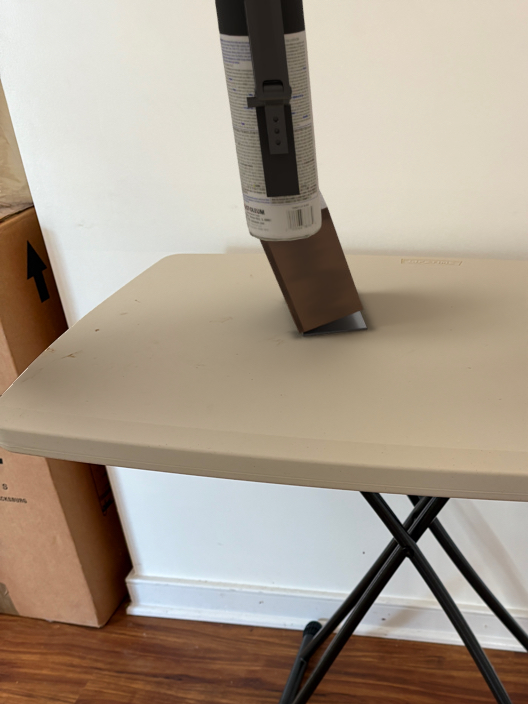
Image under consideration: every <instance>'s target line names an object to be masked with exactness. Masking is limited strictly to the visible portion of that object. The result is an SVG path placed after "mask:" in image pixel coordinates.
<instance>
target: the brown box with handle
mask: <svg viewBox="0 0 528 704" xmlns="http://www.w3.org/2000/svg"><path fill="white" fill-rule="evenodd" d="M319 195H320V206H321V228H320V230H319V231H318V232H317V233H315V234H313V235H311V236H309V237H308V238H303V239H297V240H290V241H265V240H261V239H258V240H259V242H260V245H261V247H262V249H263V252H264V254H265V257H266V259H267V261H268V263H269V266H270V268H271V270H272V273H273V275H274V277H275V281H276V282H277V285H278V287H279V290H280V292H281V295H282V297H283V299H284V301H285V304H286V306H287V309H288V311H289V313H290V316H291V318H292V321H293V323H294V325H295V327H296V329H297V332H298V334H299V335H300V334H302V333H303V332H306V331H308V330H311V329H314V328H316V327H319V326H321V325H324V324H327V323H329V322H332V321H335V320H337V319H340V318H342V317H345V316H348V315H350V314H353V313H356V312H358V311H360V312H361V311H363V310H364V307H363V304H362V301H361V298H360V295H359V293H358V290H357V287H356V283H355V282H354V278H353V275H352V272H351V269H350V267H349V264H348V261H347V257H346V255H345V252H344V249H343V246H342V244H341V242H340V238H339V236H338V232H337V229H336V227H335V224H334V221H333V218H332V215H331V212H330V210H329V207H328V205H327V202H326V201H325V198H324V196H323V194H322V192H321V189H320V188H319Z"/></svg>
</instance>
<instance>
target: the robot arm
mask: <svg viewBox="0 0 528 704" xmlns="http://www.w3.org/2000/svg"><path fill="white" fill-rule="evenodd" d="M244 7H245V15H246V23H247V31H248V39H249V46H250V54H251V62H252V69H253V77H254V84H255V88H254V92H255V95H254V97H246V98H247V106H248V108H255V109H256V117H257V125H258V133H259V140H260V148H261V156H262V164H263V171H264V179H265V187H266V195H267V197H279V196H292V195H300V190H299V180H298V171H297V161H296V151H295V141H294V131H293V122H292V112H291V104H290V102H289V101H290V100H291V94H292V88H291V86H290V85H289V75H288V66H287V57H286V47H285V38H284V29H283V19H282V10H281V1H280V0H245V2H244ZM275 81H277V82H275Z"/></svg>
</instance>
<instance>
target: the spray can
mask: <svg viewBox="0 0 528 704" xmlns="http://www.w3.org/2000/svg"><path fill="white" fill-rule="evenodd" d="M280 1H281V10H282V19H283V29H284V38H285V47H286V57H287V66H288V75H289V85H290V86H291V88H292V94H291V100H290V101H289V102H290V104H291V112H292V122H293V131H294V141H295V151H296V161H297V171H298V180H299V190H300V195H292V196H279V197H267V195H266V187H265V179H264V171H263V164H262V156H261V148H260V140H259V133H258V125H257V117H256V109H255V108H248V106H247V98H246V97H254V95H255V92H254V88H255V84H254V77H253V69H252V62H251V54H250V46H249V39H248V31H247V23H246V15H245V7H244V2H245V0H214V4H215V5H214V6H215V12H216V17H217V18H216V19H217V28H218V32H219V43H220V49H221V57H222V63H223V71H224V76H225V84H226V90H227V97H228V103H229V111H230V116H231V124H232V125H231V126H232V132H233V138H234V145H235V153H236V159H237V166H238V173H239V179H240V186H241V193H242V200H243V209H244V214H245V221H246V227H247V229H248V234H249V235H250V236H251V237H252V238H255V239H258V240H259V239H261V240H265V241H290V240H297V239H303V238H308V237H309V236H311V235H313V234H315V233H317V232H318V231H319V230H320V228H321V206H320V195H319V189H320V185H319V173H318V172H319V171H318V161H317V147H316V138H315V125H314V114H313V102H312V101H313V100H312V89H311V78H310V65H309V55H308V54H309V51H308V42H307V30H306V23H305V13H304V0H280ZM275 82H277V81H275Z"/></svg>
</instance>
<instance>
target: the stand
mask: <svg viewBox="0 0 528 704" xmlns="http://www.w3.org/2000/svg"><path fill="white" fill-rule="evenodd" d="M367 330H368V327H367V325H366V322H365V320H364V316H363V315H362V312H361V311H358V312H356V313H353V314H350V315H348V316H345V317H342V318H340V319H337V320H335V321H332V322H329V323H327V324H324V325H321V326H319V327H316V328H314V329H311V330H308V331H306V332H303V333H301V334H302V337H303V338H304V337H313V336H323V335H331V334H340V333H349V332H358V331H367Z"/></svg>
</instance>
